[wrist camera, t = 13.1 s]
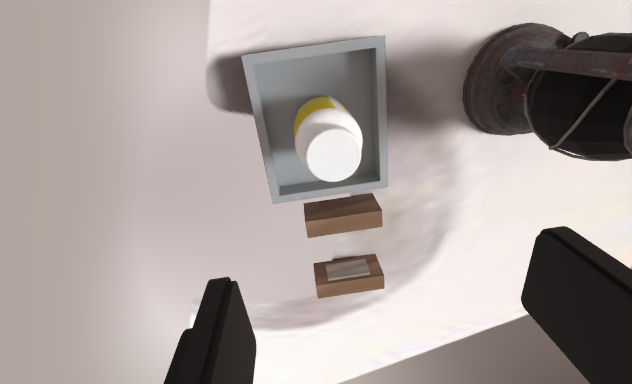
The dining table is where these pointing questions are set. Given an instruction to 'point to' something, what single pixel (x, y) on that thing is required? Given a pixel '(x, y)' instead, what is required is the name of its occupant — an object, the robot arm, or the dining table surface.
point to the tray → (312, 80)
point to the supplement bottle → (327, 138)
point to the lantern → (555, 90)
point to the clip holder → (340, 219)
